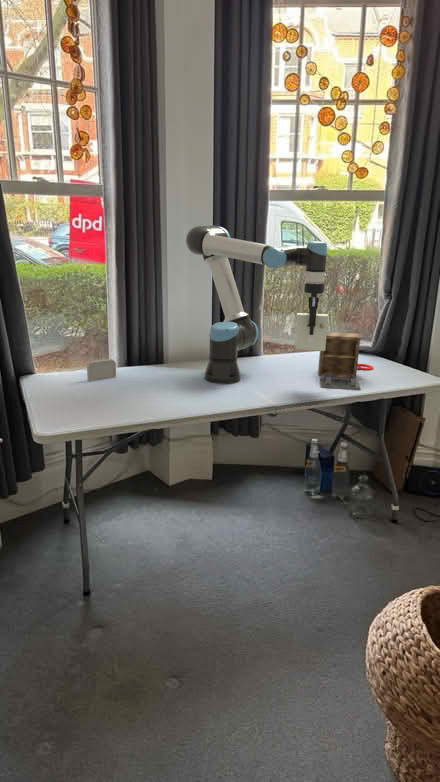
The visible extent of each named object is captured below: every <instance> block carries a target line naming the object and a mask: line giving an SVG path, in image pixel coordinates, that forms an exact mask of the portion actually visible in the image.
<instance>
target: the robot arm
mask: <svg viewBox="0 0 440 782" xmlns="http://www.w3.org/2000/svg"><path fill="white" fill-rule="evenodd" d="M185 244H186V247H187V249H188V250H189V251H190V252H191V253H193V254H195V255H199V256H202V258H203V262H205V263H206V264H208V265H209V266H208V267H209V269H210V272H211V277H212V278H213V282H214V285H215V286H214V287H215V289H216V292H217V295H218V299H219V302H220V305H221V308H222V311H223V315H224V320H223V321H219V322H216V323H213V324H212V325H211V327H210V329H209V352H208V353H209V359H208V360H209V361H208V362H207V365H206V369H205V371H204V380H206V381H208V382H211V383H214V384H223V385H225V384H235V383H238V382H240V380H241V376H242V375H241V370H240V368H239V363H238V351H240V350H243V349H248V348H250V347H251V346H254V344H255V343H256V342H257V340H258V339H259V328H258V326H257V324H256V323H255V322H254V321H252V319H251V317H250V314H249V313H247V312H245V309H244V307H243V304H242V300H241V297H240V293H239V290H238V286H237V283H236V281H235V278H234V277H235V276H234V274H233V271H232V266H231V263H230V260H229V258H230V259H235V260H239V261H243V262H249V263H254V264H259V265H264V266H266V267H268V268H270V269H279V268H283V267H285V268H286V267H291V266H294V267H295V266H298V267H305V272H304V273H305V276H304V281H305V283H304V290H303V291H304V293H306V294H310V296H308V299H307V301H308V309H309V312H308V313H309V314H310V315H309V325H307V327H308V338H307V343H314V337H315V325H316V324H315V323H316V314H317V310H318V307H319V305H318V304H319V299H320V297H319V296H318V294H323V293H324V292H325V279H326V277H327V274H326V264H327V256H328V244H327V243H326V242H325V241H315V240H314V241H308V242H307V245H305V246H303V245H290V244H285V245H284V244H282V245H280V246H276V245H270V244H265V243H259V242H254V241H248V240H242V239H238V238H232V237H231V235H230V233H229V231H228V230H227V229H226V228H224V227H222V226H219V225H215V224H213V225H198V226H195V227H192V228H191V229H190V230H189V231H188V232H187V235H186V238H185Z"/></svg>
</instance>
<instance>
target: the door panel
mask: <svg viewBox="0 0 440 782" xmlns="http://www.w3.org/2000/svg"><path fill="white" fill-rule="evenodd" d="M309 315H310V314H309V312H308V313H305V312H297V313H296V327H295V328H296V329H295V346H294V349H295V350H303V351H304V350H305V351H319V352H320V351H325V348H326V335H327V332H328V321H329V314H327V313H316V323H315V324H316V325H315V337H314V343H307V338H308V327H307V325H309Z"/></svg>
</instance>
